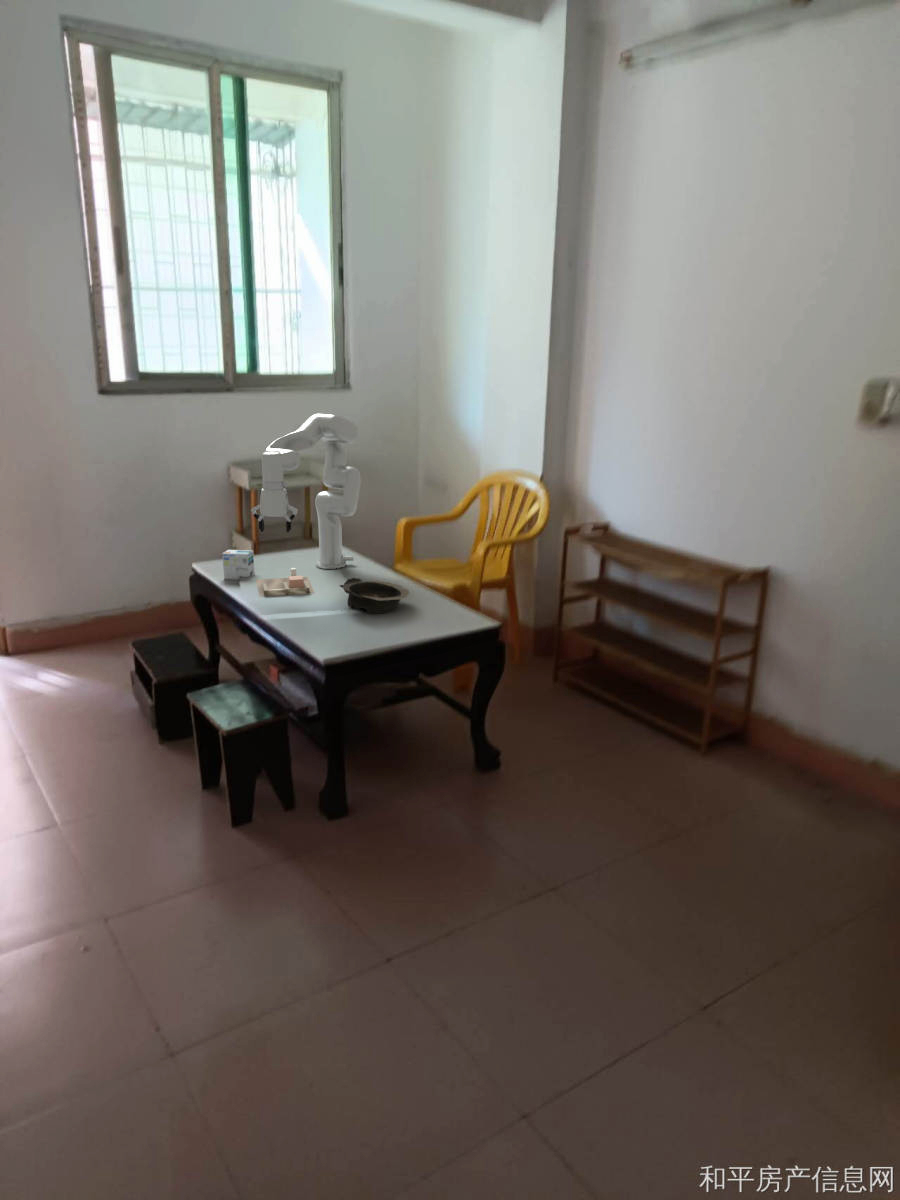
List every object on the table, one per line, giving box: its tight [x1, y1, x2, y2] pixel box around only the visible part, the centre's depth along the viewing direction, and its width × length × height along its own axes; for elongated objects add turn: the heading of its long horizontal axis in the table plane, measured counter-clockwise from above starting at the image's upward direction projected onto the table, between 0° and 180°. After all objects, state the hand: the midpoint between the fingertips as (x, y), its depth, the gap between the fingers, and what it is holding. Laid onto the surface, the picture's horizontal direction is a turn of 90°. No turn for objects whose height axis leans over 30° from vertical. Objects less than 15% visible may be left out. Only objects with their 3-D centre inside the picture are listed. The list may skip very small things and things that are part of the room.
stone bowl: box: [339, 577, 411, 615], centre depth 296 cm, size 25×25×9 cm
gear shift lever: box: [288, 567, 304, 588], centre depth 312 cm, size 5×13×6 cm, turn 16°
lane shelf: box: [255, 576, 315, 597], centre depth 314 cm, size 20×22×4 cm
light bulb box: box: [222, 549, 256, 580], centre depth 328 cm, size 11×7×11 cm, turn 84°
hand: (275, 531), depth 309 cm, fingers open, 9 cm apart
